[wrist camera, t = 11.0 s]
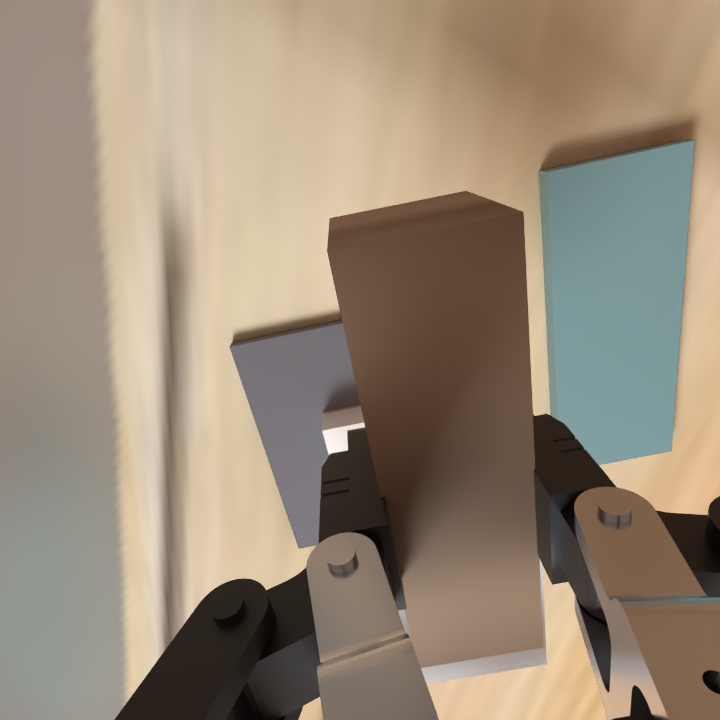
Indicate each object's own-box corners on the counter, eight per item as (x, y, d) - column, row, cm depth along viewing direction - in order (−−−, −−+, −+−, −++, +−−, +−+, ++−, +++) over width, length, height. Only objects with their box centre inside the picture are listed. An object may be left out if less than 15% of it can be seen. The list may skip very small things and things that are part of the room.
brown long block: (284, 227, 11) (263, 263, 7) (512, 181, 10) (589, 199, 7) (392, 665, 17) (406, 788, 14) (537, 641, 17) (585, 760, 13)
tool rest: (539, 171, 24) (547, 172, 23) (681, 140, 24) (694, 140, 23) (553, 463, 31) (559, 472, 31) (661, 442, 31) (671, 451, 30)
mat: (231, 342, 27) (229, 346, 27) (480, 290, 27) (483, 293, 26) (299, 541, 33) (298, 548, 33) (502, 502, 33) (505, 509, 32)
